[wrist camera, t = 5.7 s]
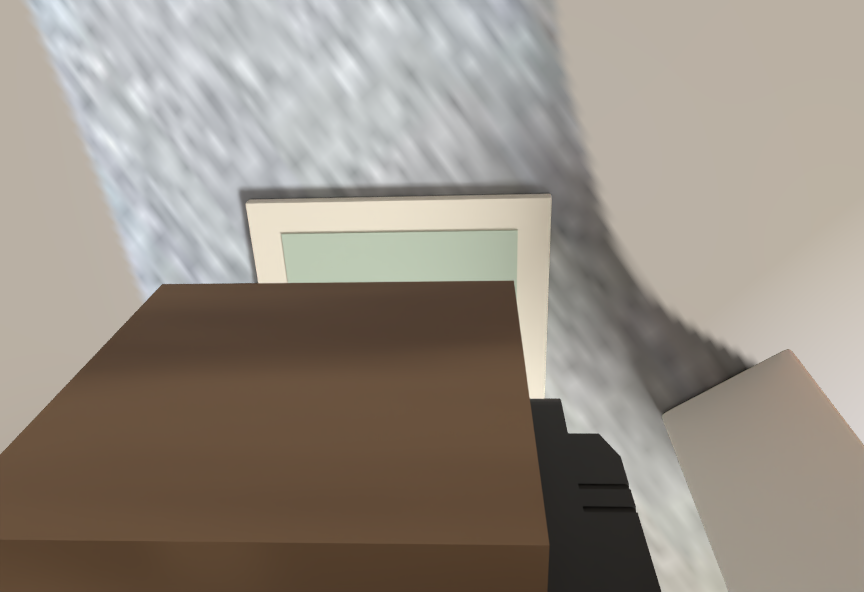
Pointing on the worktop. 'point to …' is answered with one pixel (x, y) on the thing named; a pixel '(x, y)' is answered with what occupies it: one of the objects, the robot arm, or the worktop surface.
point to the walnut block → (287, 448)
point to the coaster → (415, 248)
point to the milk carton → (774, 480)
